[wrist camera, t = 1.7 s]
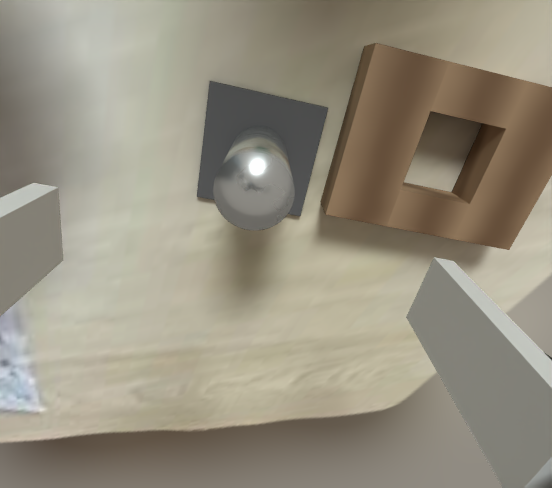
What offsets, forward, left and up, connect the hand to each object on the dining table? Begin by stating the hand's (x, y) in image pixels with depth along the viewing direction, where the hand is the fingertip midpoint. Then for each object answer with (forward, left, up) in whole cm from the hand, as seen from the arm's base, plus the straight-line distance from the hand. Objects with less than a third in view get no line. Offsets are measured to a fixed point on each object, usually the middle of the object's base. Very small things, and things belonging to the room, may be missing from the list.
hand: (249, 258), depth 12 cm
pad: (0, 0, -18) cm, 18 cm away
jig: (+14, +3, -18) cm, 23 cm away
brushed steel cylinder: (0, 0, -17) cm, 17 cm away
